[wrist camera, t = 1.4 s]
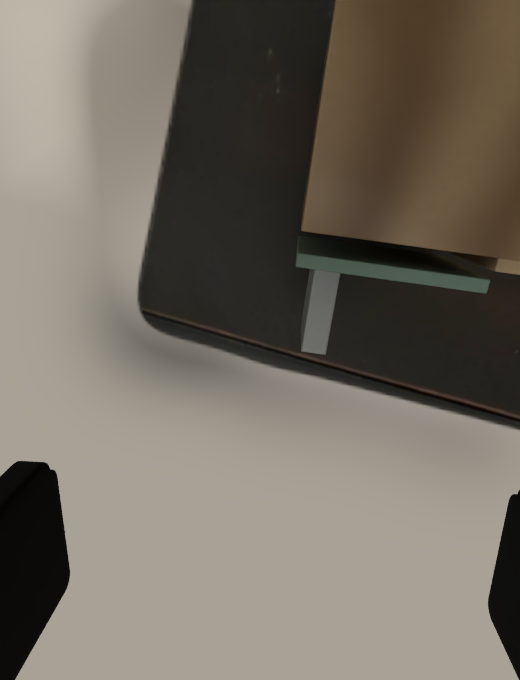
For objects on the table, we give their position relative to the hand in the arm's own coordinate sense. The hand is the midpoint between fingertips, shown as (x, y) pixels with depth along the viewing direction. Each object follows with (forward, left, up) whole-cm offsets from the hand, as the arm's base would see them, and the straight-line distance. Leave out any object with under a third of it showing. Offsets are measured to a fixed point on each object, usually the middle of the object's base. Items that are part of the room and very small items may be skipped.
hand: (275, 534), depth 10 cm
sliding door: (+4, +2, -20) cm, 21 cm away
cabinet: (+8, +10, -22) cm, 25 cm away
